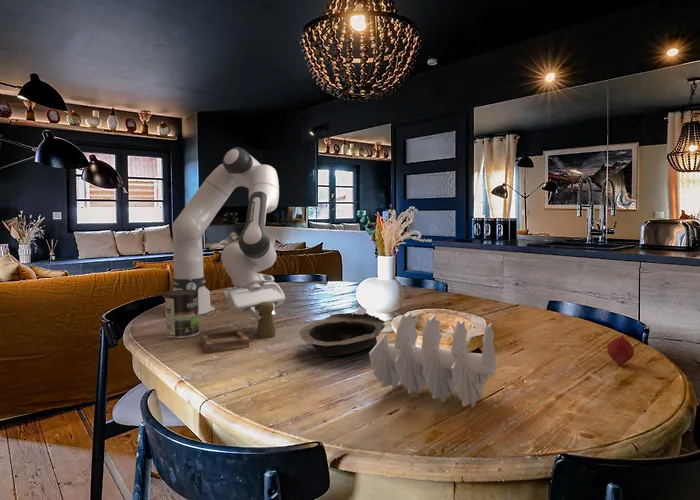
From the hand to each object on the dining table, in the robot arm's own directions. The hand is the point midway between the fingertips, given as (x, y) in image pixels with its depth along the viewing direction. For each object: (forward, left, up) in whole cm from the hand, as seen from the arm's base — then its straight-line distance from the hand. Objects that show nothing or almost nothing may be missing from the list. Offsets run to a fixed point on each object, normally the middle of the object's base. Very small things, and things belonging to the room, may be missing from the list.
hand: (267, 318), depth 144 cm
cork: (-1, 0, -6) cm, 6 cm away
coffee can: (-15, -24, -6) cm, 29 cm away
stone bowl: (+25, +15, -6) cm, 30 cm away
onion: (+68, +75, -6) cm, 102 cm away
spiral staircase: (+62, +20, -6) cm, 66 cm away
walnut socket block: (+3, -14, -6) cm, 16 cm away
